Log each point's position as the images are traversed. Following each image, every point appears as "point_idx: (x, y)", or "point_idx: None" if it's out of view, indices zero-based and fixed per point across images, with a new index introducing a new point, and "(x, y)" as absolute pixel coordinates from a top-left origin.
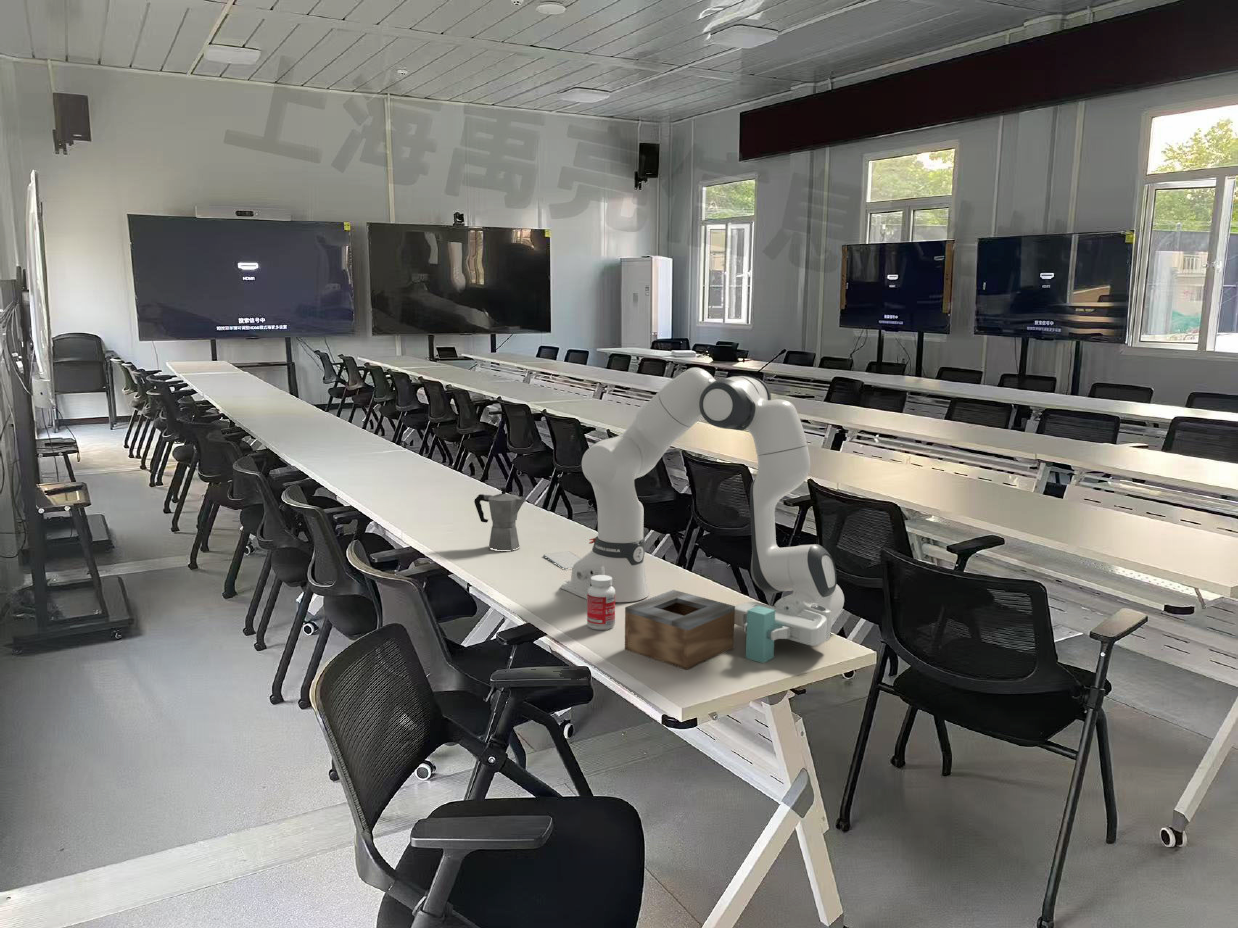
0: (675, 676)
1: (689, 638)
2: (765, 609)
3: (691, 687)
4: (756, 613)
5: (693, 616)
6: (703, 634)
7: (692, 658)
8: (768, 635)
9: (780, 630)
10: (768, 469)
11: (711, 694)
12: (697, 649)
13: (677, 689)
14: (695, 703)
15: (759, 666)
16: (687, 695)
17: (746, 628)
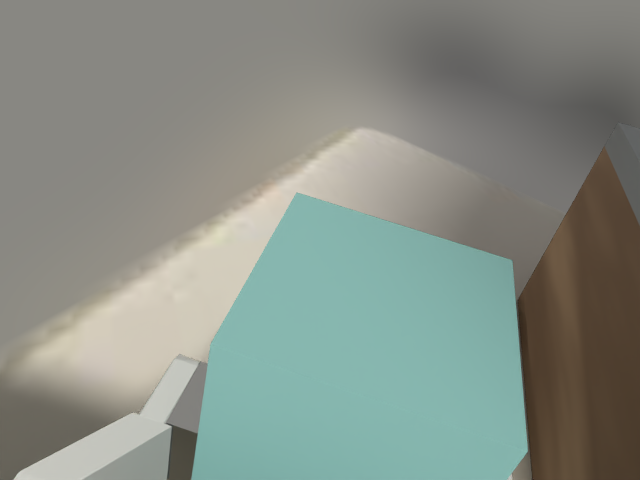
0: (506, 250)
1: (583, 193)
2: (350, 324)
3: (410, 200)
4: (392, 232)
5: None
6: (598, 271)
7: (537, 295)
8: None
9: (109, 425)
10: None
11: (332, 176)
12: (556, 293)
13: (437, 187)
14: (347, 139)
15: None
16: (390, 166)
17: None
